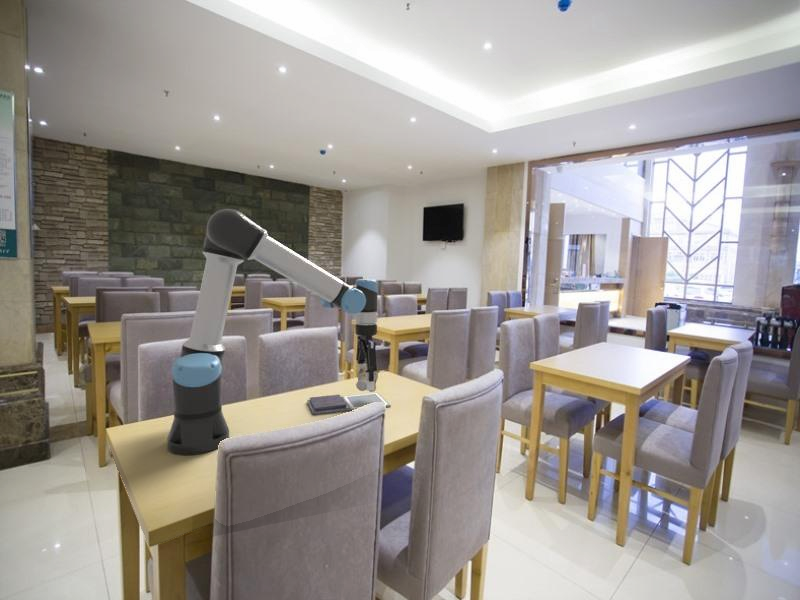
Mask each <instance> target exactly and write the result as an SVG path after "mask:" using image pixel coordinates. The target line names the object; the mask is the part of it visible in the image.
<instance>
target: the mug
mask: <svg viewBox="0 0 800 600" xmlns="http://www.w3.org/2000/svg"><path fill="white" fill-rule="evenodd" d="M366 370H367V365H366V366H365V367H363V368H361V369H360V371H359V373H358V372H357V382H356V383H355V386H356V389H358V390H359V391H361V392H364V391H367V390H366V372H365V371H366ZM378 377H379V373H378V370H377V371H375V382H374V390H369V391H368V392H370V393H375V391H376V390H377V381H378Z"/></svg>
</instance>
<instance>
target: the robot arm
mask: <svg viewBox="0 0 800 600" xmlns="http://www.w3.org/2000/svg"><path fill="white" fill-rule="evenodd" d="M204 237H205V238H204V243H203V248H202V255H204V257H205V259H206V261H205V266H204V269H203V270H204V271H203V275H202V280H201V284H200V288H199V293H198V298H197V303H196V309H195V313H194V317H193V322H192V327H191V333H190V336H189V338H188V339H187V340H185V341H184V342H183V343H182V347H181V351H180V356H179V357H178V358H177V359H176V360H174V362H173V364H172V370H171V377H172V390H173V393H172V395H173V421H172V424H171V426H170V430H169V432H168V437H167V443H166V445H167V450H168V452H170V453H172V454H175V455H182V456H183V455H185V456H187V455H188V456H189V455H190V456H191V455H200V454H203V453H204V454H205V453H208V452H211V451H215V450H216V449H217V450H218V449H219V448H218V445H219V443H220V441H222V440H224V439H226V438H229V439H230V429H229V426H228V424H227V421H226V418H225V416H224V413H223V410H222V409H223V407H222V406H223V405H222V403H223V401H222V371H223V370H222V369H223V367H222V365H223V360H224V356H225V350H226V347H225V346H224V345H223V344H222V339H223V334H224V330H225V325H226V320H227V315H228V312H229V306H230V302H231V299H232V298H231V297H232V292H233V288H234V283H235V278H236V273H237V269H238V266H239V265H240V264H242V263H243V262H245V259H246V260H248V261H251V260H255V261H257V262H259V263H260V264H262V265H263V266H266V267H267V268H269V269H271V271H274V272H276V273H278V274H279V275H281V276H282V277H284V278H286V279H287V280H290V281H292V282H293V283H296V284H297V285H298V286H300V287H302V288H304V289H306V290H308V291H309V292H311V293H313V294H314V295H317V296H318V297H319V298H320V303H321V306H322V307H323V308H324V309H334V308H336V309H339V310H342V311H343V312H346V313H348V314H355V323H356V324H355V335H356V336H357V348H356V358H355V360H356V361H357V374H358V373H359V371H360V369H361V368H363V367H365V366H367V370H366V371H365V372H366V390H365V391H368V392H369V390H374V382H375V371H377V372H378V366H377V365H378V364H377V353H376V347H377V345H376V344H377V343H376V341H374V340H373V336H376V335H377V334H378V324H377V323H378V317H379V313H378V293H379V291H378V290H379V289H378V288H379V287H378V281H377V280H376V279H373V278H358V279H356V280H355V284H350V285H349V284H348V283H346V282H344V281H343V280H341V279H340V278H338V277H336V276H335V275H333V274H331V272H328V271H327V270H325V269H323V268H322V267H320V266H318V265H317V264H315V263H313V262H312V261H311V260H308V258H305V257H304V256H302V255H301V254H299V253H297V252H295V251H293V250H292V249H290V248H288V247H287V246H285V245H284V244H282V243H280V242H279V241H277V240H275V239H274V238H273V237H271V236H269V234H268V230H266V229H265V228H263V227H262V226H260V225H258V224H257V223H256V222H254V221H253V220H251V219H250V218H249V217H247V216H246V215H245V214H244V213H242V212H241V211H238V210H237V209H232V208H224V209H220V210H218V211H216V212H214V213H213V214H212V215H210V217H209V219H208V221H207V224H206V233H205V236H204Z"/></svg>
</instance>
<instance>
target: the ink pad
mask: <svg viewBox="0 0 800 600" xmlns="http://www.w3.org/2000/svg"><path fill="white" fill-rule="evenodd" d="M306 401H307V402H306V403H307V405H308V407H309V409H310V411H311V414H312V415H323V414H324V415H325V414H332V413H341V412H349V411H350V409H349V407H348V406H347V404H346V403H345V401H344V400H343V399H342V397H341V395H340V394H333V395H331V394H330V395H323V396H313V397H309V399H306Z"/></svg>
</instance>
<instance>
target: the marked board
mask: <svg viewBox="0 0 800 600" xmlns="http://www.w3.org/2000/svg"><path fill="white" fill-rule="evenodd" d="M340 396H341V395H340ZM341 397H342V399H343V400H344V401H345V403H346V404H347V406H348V407H349V411H351V410H354V409H357V408H359V407H362V406H364V405H367V404H370V403H373V402H383V403H384V404H385V405H386V407H385V408H391V404H390V403H389V402H388V401H387V400H386V399H385V398H384V397H383V396H382V395H381V394H380V393H379V392H370V393H362V394H353V395H351V394H350V395H344V396H343V395H342V396H341Z"/></svg>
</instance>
